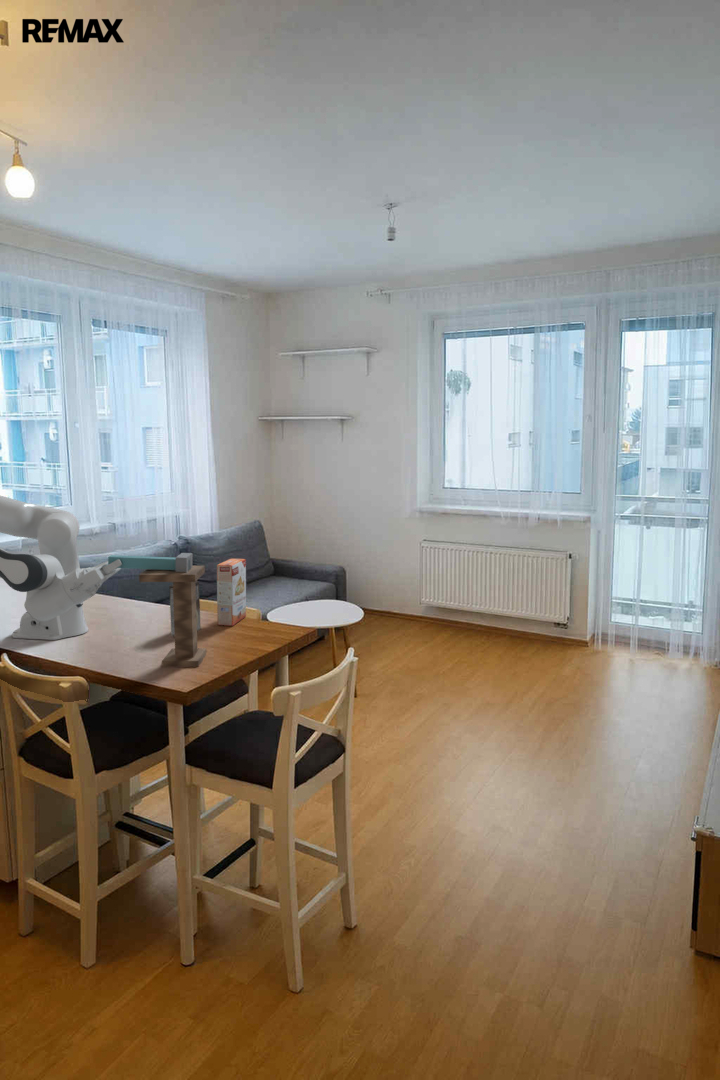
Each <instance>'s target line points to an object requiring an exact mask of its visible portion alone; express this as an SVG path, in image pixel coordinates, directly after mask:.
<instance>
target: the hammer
mask: <svg viewBox="0 0 720 1080" xmlns="http://www.w3.org/2000/svg"><path fill="white" fill-rule="evenodd" d="M193 558H194V557H193V553H192V552H181V553H180V554H178V555H177V556H176V557H167V556H147V555H146V556H143V555H141V556H139V555H118V554H115V555H114V554H112V555H109V556H108V558H107V561H108V564H110V563H113V562H114V561H116V560H118V559H121V560H122V562H123V564H122V565H121V566H119V567H117V568H121V569H137V570H138V569H139V570H147V569H159V570H176V572H187V571H188V570H190V569H191V568H192V566H193Z"/></svg>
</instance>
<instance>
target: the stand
mask: <svg viewBox="0 0 720 1080" xmlns="http://www.w3.org/2000/svg"><path fill="white" fill-rule="evenodd" d="M205 573H206V566H205V565H192V568H191V569H190V570H188V571H187V572H176V570H159V569H144V570H143V571H142V572H141V573H139V577H138V580H139V581H138V583H172V585H173V602H174V632H175V635H174V648H171V649H170V651H168V653H167V654H166V655H165V657H164V658H163V659H162V660H161V667H163V668H165V667H166V668H171V667H172V668H173V667H175V668H176V667H184V668H185V667H187V668H188V667H192V668H193V667H197V668H198V667H200V665H201V664H202V661H203V660H204V659H205V657H206V655H207V654H206V653H207V648H206V647H205V648H202V647H201V648H198V631H197V616H196V582H198V580H199V579H200V578H201V577H202V576H203V575H204V574H205ZM203 658H204V659H203Z"/></svg>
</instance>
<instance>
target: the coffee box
mask: <svg viewBox="0 0 720 1080" xmlns="http://www.w3.org/2000/svg"><path fill="white" fill-rule="evenodd" d="M168 588H169V606H170V607H169V608H170V609H169V610H170V614H169V615H170V633H171V636H175V632H174V602H173V584H172V585H170V586H169V587H168ZM196 616H197V632H198V631H199V630H201V627H202V626H201V599H200V581H196Z"/></svg>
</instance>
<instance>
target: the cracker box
mask: <svg viewBox="0 0 720 1080" xmlns="http://www.w3.org/2000/svg"><path fill="white" fill-rule="evenodd" d="M246 566H247V559H245V558H229V559H227V560H224V561H223V562H220V563H219V564H216V590H217V591H216V603H217V607H216V608H217V610H216V611H217V612H216V613H217V614H216V616H217V618H216V619H217V625H218V626H223V625H224V626H228V627H233V626H235V625H236V624H237V623H239V622H240V621H242V620H243V619H245V618H247V567H246Z"/></svg>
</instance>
